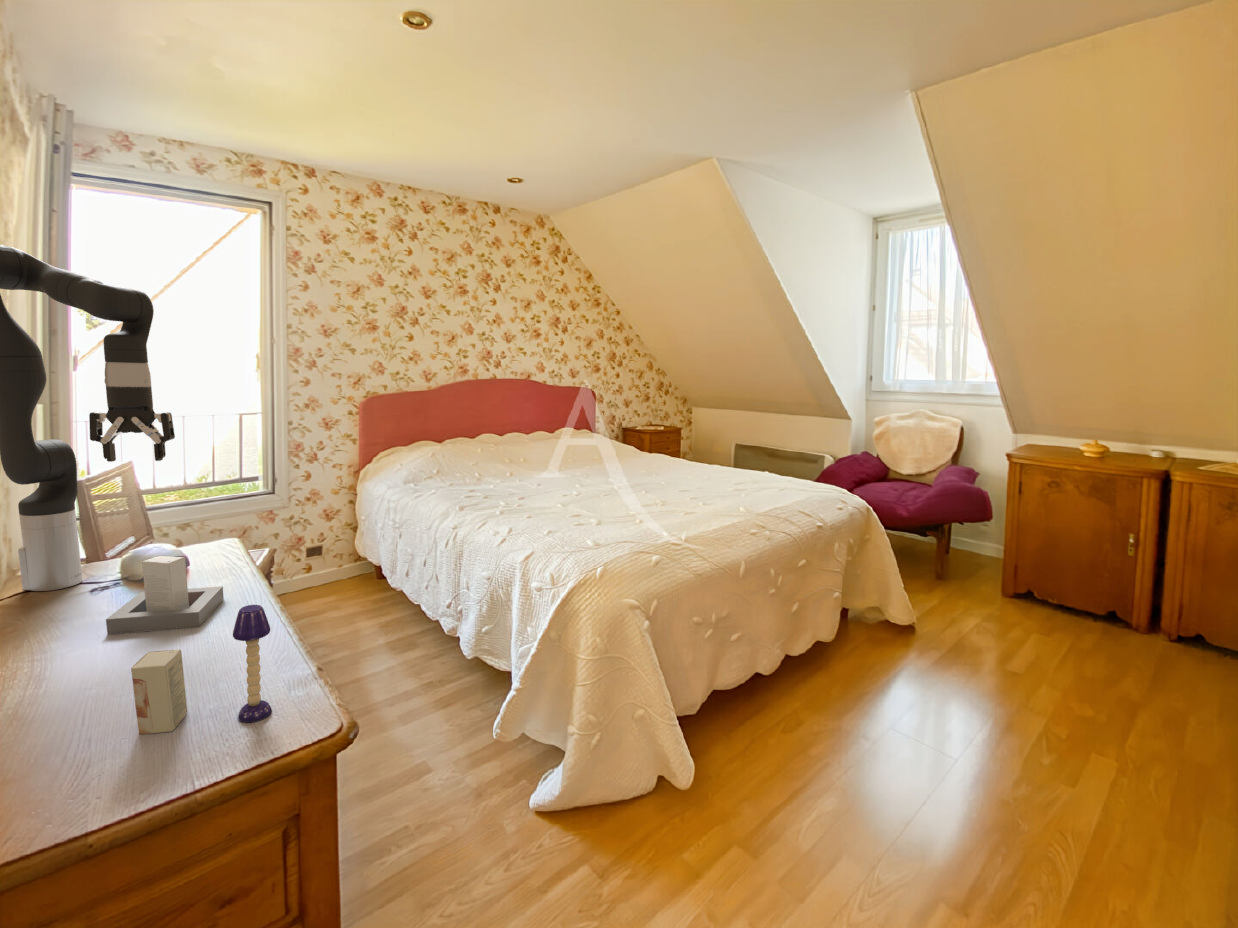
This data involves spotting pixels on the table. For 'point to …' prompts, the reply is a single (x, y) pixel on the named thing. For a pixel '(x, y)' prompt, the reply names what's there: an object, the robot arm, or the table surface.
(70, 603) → the table surface
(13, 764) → the table surface
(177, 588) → the skincare box
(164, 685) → the skincare box
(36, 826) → the table surface
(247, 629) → the toy lamp
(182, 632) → the table surface
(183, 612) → the socket block
